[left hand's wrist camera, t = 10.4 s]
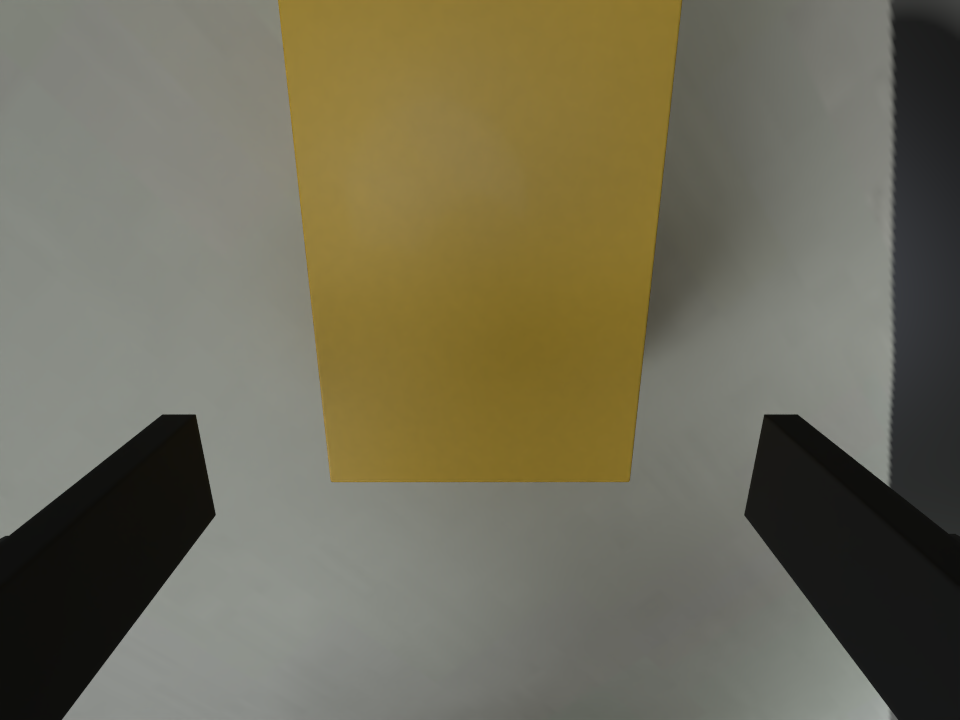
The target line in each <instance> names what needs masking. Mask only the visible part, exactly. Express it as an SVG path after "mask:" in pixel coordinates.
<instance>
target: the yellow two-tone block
mask: <svg viewBox="0 0 960 720" xmlns="http://www.w3.org/2000/svg"><path fill="white" fill-rule="evenodd" d="M278 4H279V13H280V22H281V31H282V40H283V49H284V58H285V68H286V77H287V86H288V95H289V104H290V113H291V122H292V132H293V141H294V150H295V159H296V168H297V177H298V186H299V195H300V205H301V214H302V223H303V232H304V241H305V250H306V259H307V269H308V278H309V287H310V296H311V305H312V314H313V323H314V333H315V342H316V351H317V360H318V369H319V378H320V387H321V397H322V406H323V415H324V424H325V433H326V442H327V451H328V461H329V470H330V479H331V482H629V481H630V474H631V464H632V455H633V446H634V437H635V428H636V419H637V409H638V400H639V391H640V382H641V373H642V364H643V354H644V345H645V336H646V327H647V318H648V309H649V300H650V290H651V281H652V272H653V263H654V254H655V245H656V235H657V226H658V217H659V208H660V199H661V190H662V180H663V171H664V162H665V153H666V144H667V135H668V126H669V116H670V107H671V98H672V89H673V80H674V71H675V61H676V52H677V43H678V34H679V25H680V16H681V6H682V0H278Z"/></svg>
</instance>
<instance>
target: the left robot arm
mask: <svg viewBox="0 0 960 720" xmlns="http://www.w3.org/2000/svg"><path fill="white" fill-rule="evenodd" d="M215 515H216V514H215V509H214V504H213V499H212V494H211V489H210V484H209V479H208V474H207V469H206V464H205V459H204V454H203V449H202V444H201V439H200V434H199V429H198V424H197V419H196V415H161V416H160V417H159V418H157V419H156V420H155V421H154V422H152V423H151V424H150V425H149V426H147V427H146V428H145V429H144V430H142V431H141V432H140V433H139V434H137V435H136V436H135V437H133V438H132V439H131V440H130V441H128V442H127V443H126V444H125V445H123V446H122V447H121V448H120V449H118V450H117V451H116V452H114V453H113V454H112V455H111V456H109V457H108V458H107V459H106V460H104V461H103V462H102V463H101V464H99V465H98V466H97V467H95V468H94V469H93V470H92V471H90V472H89V473H88V474H87V475H85V476H84V477H83V478H82V479H80V480H79V481H78V482H77V483H75V484H74V485H73V486H71V487H70V488H69V489H68V490H66V491H65V492H64V493H63V494H61V495H60V496H59V497H58V498H56V499H55V500H54V501H52V502H51V503H50V504H49V505H47V506H46V507H45V508H44V509H42V510H41V511H40V512H39V513H37V514H36V515H35V516H33V517H32V518H31V519H30V520H28V521H27V522H26V523H25V524H23V525H22V526H21V527H20V528H18V529H17V530H16V531H15V532H13V533H12V534H11V535H9V536H5V537H3V538H1V539H0V720H62V719H63V717H64V716H65V715H66V713H67V712H68V711H69V709H70V708H71V707H72V705H73V704H74V703H75V701H76V700H77V699H78V697H79V696H80V695H81V693H82V692H83V691H84V689H85V688H86V687H87V686H88V684H89V683H90V682H91V680H92V679H93V678H94V676H95V675H96V674H97V672H98V671H99V670H100V668H101V667H102V666H103V664H104V663H105V662H106V660H107V659H108V658H109V656H110V655H111V654H112V652H113V651H114V650H115V648H116V647H117V646H118V644H119V643H120V642H121V640H122V639H123V638H124V636H125V635H126V634H127V632H128V631H129V630H130V628H131V627H132V626H133V624H134V623H135V622H136V620H137V619H138V618H139V616H140V615H141V614H142V612H143V611H144V610H145V608H146V607H147V606H148V604H149V603H150V602H151V600H152V599H153V598H154V596H155V595H156V594H157V592H158V591H159V590H160V588H161V587H162V586H163V584H164V583H165V582H166V580H167V579H168V578H169V576H170V575H171V574H172V572H173V571H174V570H175V568H176V567H177V566H178V565H179V563H180V562H181V561H182V559H183V558H184V557H185V555H186V554H187V553H188V551H189V550H190V549H191V547H192V546H193V545H194V543H195V542H196V541H197V539H198V538H199V537H200V535H201V534H202V533H203V531H204V530H205V529H206V527H207V526H208V525H209V523H210V522H211V521H212V519H213V518H214V517H215ZM744 515H745V517H746V518H747V519H748V521H749V522H750V523H751V525H752V526H753V527H754V529H755V530H756V531H757V533H758V534H759V535H760V537H761V538H762V539H763V541H764V542H765V543H766V545H767V546H768V547H769V549H770V550H771V551H772V553H773V554H774V555H775V557H776V558H777V559H778V561H779V562H780V563H781V565H782V566H783V567H784V568H785V570H786V571H787V572H788V574H789V575H790V576H791V578H792V579H793V580H794V582H795V583H796V584H797V586H798V587H799V588H800V590H801V591H802V592H803V594H804V595H805V596H806V598H807V599H808V600H809V602H810V603H811V604H812V606H813V607H814V608H815V610H816V611H817V612H818V614H819V615H820V616H821V618H822V619H823V620H824V622H825V623H826V624H827V626H828V627H829V628H830V630H831V631H832V632H833V634H834V635H835V636H836V638H837V639H838V640H839V642H840V643H841V644H842V646H843V647H844V648H845V650H846V651H847V652H848V654H849V655H850V656H851V658H852V659H853V660H854V662H855V663H856V664H857V666H858V667H859V668H860V670H861V671H862V672H863V674H864V675H865V676H866V678H867V679H868V680H869V682H870V683H871V684H872V686H873V687H874V688H875V689H876V691H877V692H878V693H879V695H880V696H881V697H882V699H883V700H884V701H885V703H886V704H887V705H888V707H889V708H890V709H891V711H892V712H893V713H894V715H895V716H896V717H897V719H898V720H960V536H958V535H956V534H948V533H947V532H945V531H944V530H943V529H942V528H940V527H939V526H938V525H937V524H935V523H934V522H933V521H932V520H930V519H929V518H928V517H926V516H925V515H924V514H923V513H921V512H920V511H919V510H918V509H916V508H915V507H914V506H913V505H911V504H910V503H909V502H907V501H906V500H905V499H904V498H902V497H901V496H900V495H899V494H897V493H896V492H895V491H894V490H892V489H891V488H890V487H889V486H887V485H886V484H885V483H883V482H882V481H881V480H880V479H878V478H877V477H876V476H875V475H873V474H872V473H871V472H870V471H868V470H867V469H866V468H865V467H863V466H862V465H861V464H859V463H858V462H857V461H856V460H854V459H853V458H852V457H851V456H849V455H848V454H847V453H846V452H844V451H843V450H842V449H840V448H839V447H838V446H837V445H835V444H834V443H833V442H832V441H830V440H829V439H828V438H827V437H825V436H824V435H823V434H821V433H820V432H819V431H818V430H816V429H815V428H814V427H813V426H811V425H810V424H809V423H808V422H806V421H805V420H804V419H803V418H801V417H800V416H799V415H764V419H763V424H762V429H761V434H760V439H759V444H758V449H757V454H756V459H755V464H754V469H753V474H752V479H751V484H750V489H749V494H748V499H747V504H746V509H745V514H744Z"/></svg>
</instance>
